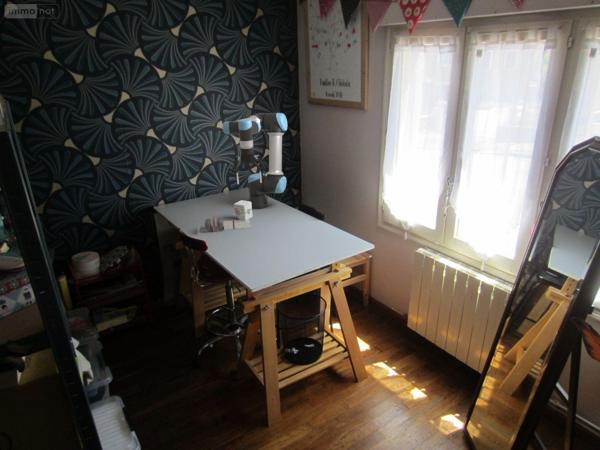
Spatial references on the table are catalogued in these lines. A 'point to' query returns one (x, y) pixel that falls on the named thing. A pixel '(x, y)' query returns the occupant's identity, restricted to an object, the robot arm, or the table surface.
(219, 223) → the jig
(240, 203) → the ink box
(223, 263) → the table surface
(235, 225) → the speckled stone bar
